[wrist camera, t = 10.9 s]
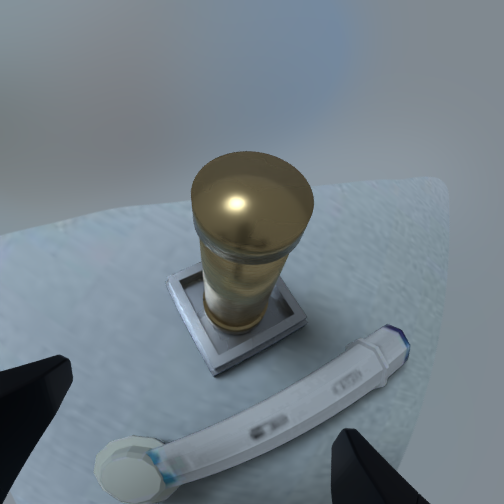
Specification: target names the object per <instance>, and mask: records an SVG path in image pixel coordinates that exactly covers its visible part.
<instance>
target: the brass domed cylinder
mask: <svg viewBox="0 0 504 504" xmlns="http://www.w3.org/2000/svg"><path fill="white" fill-rule="evenodd" d="M191 201H192V212H193V222H194V227H195V230H196V232H197V235H198V236H199V238H200V250H201V261H202V271H203V281H204V292H203V305H204V311H205V315H206V317H207V319H208V321H209V322H210V323H211V324H212V325H213V326H214V327H215V328H216V329H218V330H219V331H221V332H224V333H227V334H232V335H239V334H244V333H247V332H249V331H251V330H253V329H254V328H255V327H256V326H257V325H258V324H259V323H260V322H261V320H262V318H263V316H264V314H265V312H266V310H267V307H268V299H269V297H270V295H271V293H272V291H273V289H274V286H275V284H276V282H277V280H278V278H279V275H280V273H281V271H282V269H283V266H284V264H285V262H286V260H287V258H288V255H289V253H290V252H291V251H292V250H293V249H294V248H295V247H296V246H297V244H298V243H299V241H300V239H301V237H302V235H303V233H304V231H305V229H306V227H307V224H308V222H309V220H310V218H311V216H312V212H313V208H314V197H313V193H312V190H311V187H310V185H309V184H308V182H307V180H306V179H305V178H304V176H303V175H302V174H301V173H300V172H299V171H298V170H297V169H296V168H295V167H293V166H292V165H291V164H289V163H288V162H285V161H284V160H282V159H280V158H278V157H275V156H272V155H269V154H265V153H260V152H251V151H245V152H244V151H243V152H234V153H229V154H226V155H223V156H220V157H218V158H215V159H214V160H212V161H210V162H209V163H207V164H206V165H205V166H204V167H203V168H202V169H201V170H200V171H199V172H198V174H197V175H196V177H195V179H194V181H193V184H192V188H191Z"/></svg>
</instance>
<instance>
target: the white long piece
mask: <svg viewBox="0 0 504 504" xmlns="http://www.w3.org/2000/svg"><path fill="white" fill-rule="evenodd" d="M409 351H410V344H409V342H408V340H407V338H406V337H405V335H404V333H403V331H402V330H401V329H398V328H396V327H394V326H392V325H389V324H386V325H385V326H383V327H381V328H380V329H378V330H376V331H375V332H374V333H372V334H371V335H369V336H368V337H366V338H365V339H362V338H359V339H357V340H355V341H354V342H352V343H350V344H348V345H347V346H346V351H345V352H344V353H342V354H341V355H339V356H338V357H336V358H334V359H333V360H331V361H330V362H328V363H327V364H325V365H324V366H322V367H320V368H319V369H317V370H316V371H314V372H312V373H311V374H309V375H308V376H306V377H304V378H303V379H301V380H299V381H297V382H296V383H294V384H292V385H291V386H289V387H287V388H285V389H284V390H282V391H280V392H278V393H276V394H275V395H273V396H271V397H269V398H267V399H265V400H263V401H261V402H260V403H258V404H256V405H254V406H252V407H250V408H248V409H246V410H244V411H242V412H240V413H238V414H236V415H234V416H231V417H229V418H227V419H225V420H223V421H221V422H218V423H216V424H214V425H212V426H209V427H207V428H205V429H203V430H200V431H198V432H195V433H193V434H190V435H188V436H186V437H183V438H180V439H178V440H175V441H173V442H170V443H167V444H164V443H163V442H161V441H159V440H158V439H156V438H150V437H142V436H135V435H132V436H128V437H125V438H121V439H118V440H114V441H110V442H109V443H108V444H107V445H106V446H105V447H104V448H103V449H102V450H101V451H100V452H99V453H98V454H97V455H96V460H95V467H94V474H95V476H96V478H97V480H98V482H99V484H100V486H101V488H102V489H103V490H104V491H105V492H107V493H108V494H110V495H111V496H113V497H114V498H116V499H117V500H119V501H120V502H124V503H130V504H153V503H157V502H160V501H164V500H166V499H167V498H169V497H170V496H171V495H172V494H173V493H174V492H175V491H176V490H177V489H178V488H179V487H180V485H182V484H185V483H188V482H191V481H195V480H198V479H201V478H204V477H207V476H209V475H212V474H215V473H218V472H220V471H223V470H226V469H228V468H231V467H233V466H236V465H238V464H241V463H243V462H245V461H248V460H250V459H252V458H255V457H257V456H259V455H261V454H263V453H266V452H268V451H270V450H272V449H274V448H276V447H278V446H280V445H282V444H284V443H286V442H288V441H290V440H292V439H294V438H296V437H297V436H299V435H301V434H303V433H305V432H307V431H308V430H310V429H312V428H314V427H315V426H317V425H319V424H320V423H322V422H324V421H325V420H327V419H329V418H330V417H332V416H334V415H335V414H337V413H338V412H340V411H342V410H343V409H345V408H346V407H348V406H349V405H351V404H352V403H354V402H355V401H357V400H358V399H360V398H361V397H362V396H364V395H365V394H367V393H368V392H370V391H371V390H373V389H377V388H380V387H384V386H385V385H386V383H387V378H388V377H389V376H390V375H391V374H392V373H394V372H395V371H396V370H397V369H398V368H399V367H400V366H402V365H403V364H404V363H405V362H406V361H407V360H408V356H409Z"/></svg>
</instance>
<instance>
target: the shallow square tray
mask: <svg viewBox="0 0 504 504" xmlns="http://www.w3.org/2000/svg"><path fill="white" fill-rule="evenodd" d="M167 278H168V280H167V281H165V284H166V286H167V289H168V291H169V293H170V295H171V297H172V299H173V301H174V303H175V305H176V307H177V309H178V311H179V313H180V315H181V317H182V319H183V321H184V323H185V325H186V327H187V329H188V331H189V333H190V335H191V337H192V339H193V341H194V343H195V344H196V346H197V348H198V350H199V352H200V354H201V356H202V357H203V359H204V361H205V363H206V365H207V366H208V368H209V370H210V372H211V373H212V375H213V377H214V376H216V375H218V374H220V373H222V372H224V371H226V370H228V369H230V368H232V367H234V366H235V365H237V364H239V363H241V362H243V361H245V360H247V359H248V358H250V357H252V356H254V355H256V354H258V353H259V352H261V351H263V350H265V349H266V348H268V347H270V346H272V345H273V344H275V343H277V342H279V341H280V340H282V339H284V338H285V337H287V336H289V335H290V334H292V333H294V332H295V331H297V330H299V329H300V328H302V327H304V326H305V325H306V324H307V323H308V322H307V321H306V318H307V316H306V315H305V313H304V312H303V310H302V309H301V307H300V306H299V304H298V303H297V301H296V300H295V298H294V297H293V295H292V294H291V292H290V291H289V289H288V288H287V286H286V284H285V283H284V281H283V280H282V279H281V277H280V276H279V278H278V280H277V282H276V284H275V286H274V289H273V291H272V293H271V295H270V297H269V299H268V307H267V310H266V312H265V314H264V316H263V318H262V320H261V322H260V323H259V324H258V325H257V326H256V327H255V328H254V329H253V330H251V331H249V332H247V333H244V334H239V335H232V334H227V333H224V332H221V331H219V330H218V329H216V328H215V327H214V326H213V325H212V324H211V323H210V322H209V321H208V319H207V317H206V315H205V311H204V305H203V292H204V281H203V271H202V261H201V262H199V263H197V264H195V265H192V266H190V267H188V268H186V269H183V270H181V271H179V272H177V273H174V274H172V275H170V276H168V277H167Z"/></svg>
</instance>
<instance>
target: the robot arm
mask: <svg viewBox="0 0 504 504" xmlns="http://www.w3.org/2000/svg"><path fill="white" fill-rule="evenodd" d="M72 381H73V374H72V368H71V362H70V360H69V359H68V358H66V357H64V356H62V355H56V356H52V357H49V358H46V359H42V360H39V361H36V362H32V363H29V364H25V365H22V366H18V367H15V368H11V369H8V370H4V371H1V372H0V504H3V502H4V500H5V498H6V496H7V494H8V492H9V490H10V488H11V487H12V485H13V483H14V481H15V479H16V478H17V476H18V474H19V472H20V471H21V469H22V467H23V466H24V464H25V462H26V461H27V459H28V457H29V456H30V454H31V452H32V451H33V449H34V448H35V446H36V444H37V443H38V441H39V440H40V438H41V436H42V435H43V433H44V432H45V430H46V429H47V427H48V426H49V424H50V422H51V421H52V419H53V418H54V416H55V415H56V413H57V411H58V409H59V407H60V405H61V403H62V401H63V399H64V397H65V395H66V393H67V391H68V389H69V388H70V386H71V384H72ZM331 494H332V504H430V503H429V502H428V501H426V499H424V498H423V497H422V496H421V495H420V494H418V492H417V491H416V490H415V489H414V488H413V487H412V486H411V485H410V484H409V483H408V482H407V481H406V480H405V479H404V478H403V477H402V476H401V475H400V474H399V473H398V472H397V471H396V470H395V469H394V468H393V467H392V466H391V465H390V464H389V463H388V462H387V461H386V460H385V459H384V458H383V457H382V456H381V455H380V454H379V453H378V452H377V451H376V450H375V449H374V448H373V447H372V446H371V444H370V443H369V442H368V441H367V440H366V439H365V438H364V437H363V436H362V435H361V434H360V433H359V432H358V431H357V430H356V429H351V428H344V429H343V430H342V431H341V432H340V434H339V435H338V437H337V438H336V440H335V441H334V443H333V445H332V460H331Z"/></svg>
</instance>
